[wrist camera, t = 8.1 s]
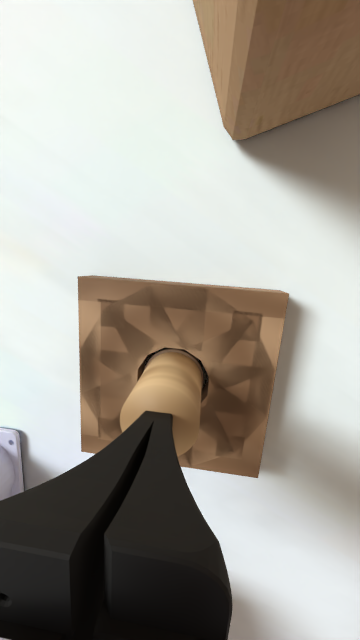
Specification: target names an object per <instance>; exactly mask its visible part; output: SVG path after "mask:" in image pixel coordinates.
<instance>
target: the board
mask: <svg viewBox="0 0 360 640" xmlns="http://www.w3.org/2000/svg"><path fill="white" fill-rule="evenodd" d="M288 297H289V294H288V293H285V292H283V291H280V290H267V289H255V288H242V287H230V286H217V285H205V284H192V283H180V282H167V281H155V280H142V279H130V278H117V277H104V276H80V277H78V304H79V353H80V403H81V452H88V453H95V454H96V453H98V452H99V451H101V450H102V449H103V448H105V447H106V446H107V445H108V444H110V443H111V442H112V441H113V440H115V439H116V438H117V437H118V436H119V435H120V434H122V430H121V426H120V413H121V409H122V407H123V405H124V403H125V402H126V400H127V398H128V397H129V395H130V393H131V392H132V390H133V388H134V387H135V385H136V383H137V382H138V380H139V379H140V377H141V375H142V374H143V372H144V368H145V358H146V357H147V355H149V354H151V353H153V352H155V351H158V350H160V349H162V348H165V347H166V348H176V349H185V350H186V351H188V352H189V353H191V354H192V355H194V356H195V357H196V358H198V359H199V360H201V362H202V364H203V366H204V368H205V370H206V372H207V374H208V382H207V383H206V384H205V386H204V387H203V388H202V390H201V407H200V425H199V434H198V437H197V440H196V441H195V443H194V445H193V446H192V447H191V448H190V449H189V450H188V451H187V452H185V453H184V454H182V455H180V456H177V457H178V460H179V464H180V466H181V467H188V468H195V469H201V470H208V471H215V472H221V473H228V474H235V475H241V476H248V477H255V478H258V474H259V469H260V463H261V457H262V451H263V445H264V439H265V433H266V427H267V421H268V415H269V409H270V403H271V397H272V392H273V386H274V380H275V374H276V368H277V362H278V356H279V350H280V344H281V338H282V332H283V326H284V320H285V314H286V309H287V303H288Z"/></svg>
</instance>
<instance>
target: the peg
mask: <svg viewBox="0 0 360 640" xmlns="http://www.w3.org/2000/svg"><path fill="white" fill-rule="evenodd" d="M203 380H204V376H203V370H202V367H201V365H200V363H199V362H198V360H197V358H196V357H195V356H194V355H192V354H191V353H189V352H188V351H186V350H185V349H176V348H165V349H163V350H161V351H159V352H157V353H156V354H154V355H153V356H152V357H151V358H150V359H149V361H148V363H147V364H146V366H145V368H144V372H143V374H142V375H141V377H140V379H139V380H138V382H137V383H136V385H135V387H134V388H133V390H132V392H131V393H130V395H129V397H128V398H127V400H126V402H125V403H124V405H123V407H122V409H121V413H120V426H121V430H122V433H123V432H124V431H125V430H126V429H127V428H128V427H129V426H130V425H131V424H132V423H133V422H134V421H135V420H136V419H137V418H138V417H139V416H140V415H141V414H142V413H143V412H145V411H153V412H161V413H169V414H172V416H173V426H172V431H173V439H174V444H175V449H176V453H177V456H180V455H182V454H184V453H185V452H187V451H188V450H189V449H190V448H191V447H192V446H193V445H194V443H195V441H196V440H197V437H198V434H199V425H200V407H201V390H202V388H203Z"/></svg>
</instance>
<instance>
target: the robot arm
mask: <svg viewBox="0 0 360 640" xmlns="http://www.w3.org/2000/svg"><path fill="white" fill-rule="evenodd" d="M172 426H173V416H172V414H169V413H161V412H153V411H145V412H143V413H142V414H141V415H140V416H139V417H138V418H137V419H136V420H135V421H134V422H133V423H132V424H131V425H130V426H129V427H128V428H127V429H126V430H125V431H124V432H123V433H122V434H120V435H119V436H118V437H117V438H116V439H115V440H113V441H112V442H111V443H110V444H108V445H107V446H106V447H105V448H103V449H102V450H101V451H99V452H98V453H96V454H95V455H94V456H92V457H91V458H89V459H88V460H86V461H84V462H83V463H81V464H79V465H78V466H76V467H74V468H72V469H70V470H69V471H67V472H65V473H63V474H62V475H60V476H58V477H56V478H54V479H51V480H49V481H47V482H45V483H43V484H41V485H39V486H36V487H34V488H32V489H29V490H27V491H24V485H23V473H22V461H21V449H20V437H19V433H18V432H17V431H16V430H12V429H5V428H0V640H227V639H228V633H229V627H230V621H231V615H232V595H231V588H230V583H229V578H228V573H227V569H226V565H225V561H224V558H223V554H222V551H221V547H220V544H219V541H218V540H217V538H216V537H215V535H214V533H213V532H212V530H211V529H210V527H209V526H208V524H207V522H206V521H205V519H204V517H203V515H202V514H201V512H200V510H199V508H198V506H197V504H196V502H195V500H194V498H193V496H192V494H191V492H190V490H189V488H188V485H187V483H186V480H185V478H184V475H183V473H182V470H181V467H180V464H179V460H178V457H177V453H176V449H175V444H174V439H173V431H172Z"/></svg>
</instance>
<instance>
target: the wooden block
mask: <svg viewBox="0 0 360 640" xmlns="http://www.w3.org/2000/svg"><path fill="white" fill-rule="evenodd" d="M193 3H194V7H195V11H196V16H197V20H198V24H199V28H200V32H201V36H202V40H203V44H204V48H205V52H206V56H207V60H208V64H209V68H210V72H211V77H212V81H213V85H214V89H215V93H216V97H217V101H218V105H219V109H220V113H221V117H222V121H223V125H224V128H225V129H226V130H227V132H228V133H229V135H230V136H231V138H232V139H233V140H243V139H247V138H249V137H252V136H255V135H257V134H260V133H262V132H265V131H267V130H270V129H272V128H275V127H277V126H280V125H283V124H285V123H288V122H290V121H293V120H295V119H298V118H300V117H303V116H305V115H308V114H311V113H313V112H316V111H318V110H321V109H323V108H326V107H328V106H331V105H334V104H336V103H339V102H341V101H344V100H346V99H349V98H351V97H354V96H356V95H359V94H360V0H193Z"/></svg>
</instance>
